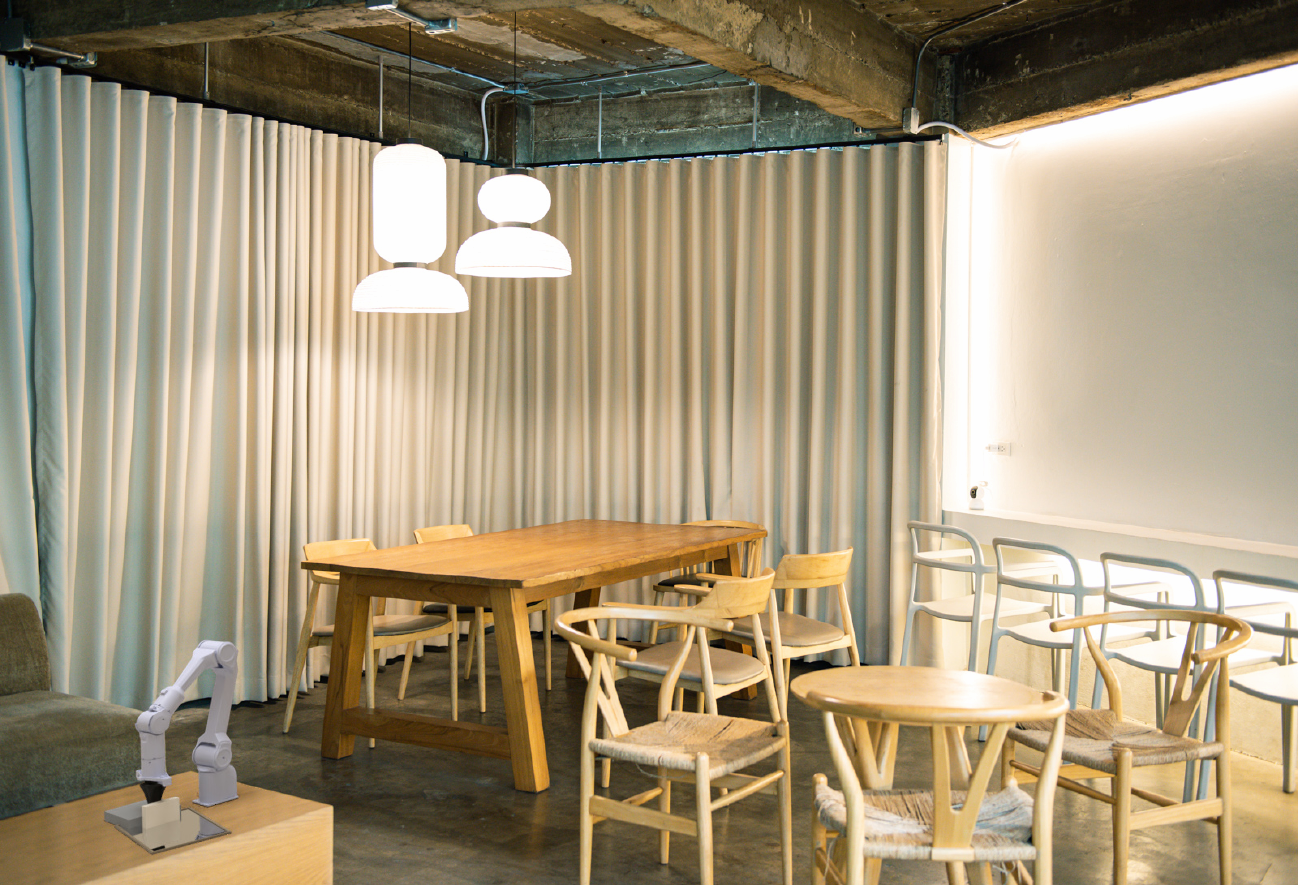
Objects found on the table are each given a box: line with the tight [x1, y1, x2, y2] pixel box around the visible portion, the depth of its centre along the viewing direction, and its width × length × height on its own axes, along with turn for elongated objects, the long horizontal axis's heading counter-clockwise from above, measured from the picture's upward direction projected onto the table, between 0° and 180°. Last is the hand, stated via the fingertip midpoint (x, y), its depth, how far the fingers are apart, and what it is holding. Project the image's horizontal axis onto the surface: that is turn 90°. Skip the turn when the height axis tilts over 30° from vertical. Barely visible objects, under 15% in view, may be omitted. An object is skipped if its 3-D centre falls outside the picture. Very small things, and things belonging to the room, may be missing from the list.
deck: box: [103, 798, 182, 829], centre depth 282 cm, size 14×13×2 cm
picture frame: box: [113, 806, 233, 855], centre depth 271 cm, size 19×1×28 cm
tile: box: [142, 796, 181, 829], centre depth 276 cm, size 9×6×2 cm
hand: (154, 809), depth 278 cm, fingers closed
